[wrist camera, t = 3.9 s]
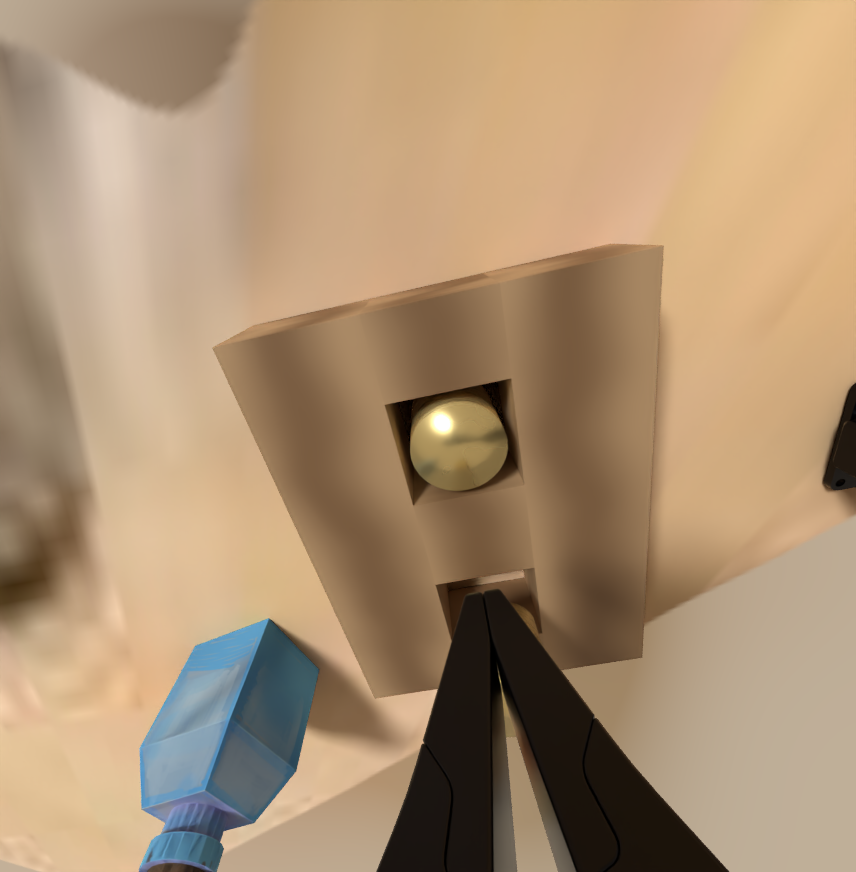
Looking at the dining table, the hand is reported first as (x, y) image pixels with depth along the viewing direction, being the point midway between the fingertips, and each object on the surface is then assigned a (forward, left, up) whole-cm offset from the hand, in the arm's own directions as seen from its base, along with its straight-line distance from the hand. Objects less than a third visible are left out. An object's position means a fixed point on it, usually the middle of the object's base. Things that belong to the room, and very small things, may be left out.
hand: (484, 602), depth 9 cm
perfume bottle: (+17, +16, -12) cm, 26 cm away
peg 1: (0, 0, -12) cm, 12 cm away
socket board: (0, +5, -12) cm, 13 cm away
